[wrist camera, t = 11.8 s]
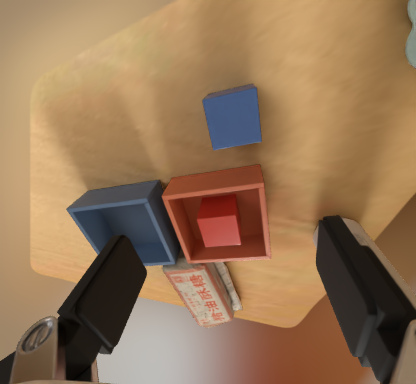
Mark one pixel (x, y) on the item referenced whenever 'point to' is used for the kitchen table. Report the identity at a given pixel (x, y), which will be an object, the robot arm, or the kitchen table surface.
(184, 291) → the packaged product
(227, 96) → the blue block
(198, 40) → the kitchen table surface
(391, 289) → the robot arm
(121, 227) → the blue bin
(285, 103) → the kitchen table surface
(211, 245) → the red block
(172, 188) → the terracotta bin
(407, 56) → the pacifier
